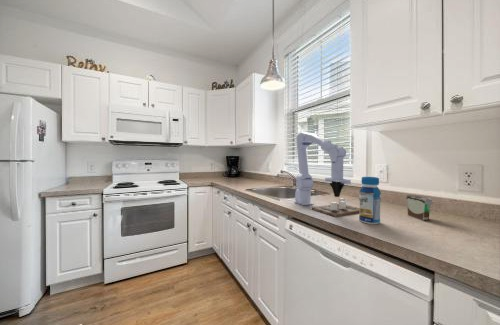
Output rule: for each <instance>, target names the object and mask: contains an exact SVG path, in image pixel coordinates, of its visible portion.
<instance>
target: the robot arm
mask: <svg viewBox="0 0 500 325" xmlns="http://www.w3.org/2000/svg"><path fill="white" fill-rule="evenodd" d="M295 138H296V150H297V159H298V171H299V174H298V175H297V176H296V181H295V185H296V186H295V187H296V188H297V189H295V192H294V200H295V201H293V202H294V203H295V204H298V205H302V206H309V205H314V203H313V202H311V200H312V199H311V191H312V189H313V187H314V179H313V176H312V175H311V174H310V173H309V166H308V156H307V154H308V153H307V148H308V147H310V146H311V145H312V144H313V143H314V144H316V145H318V146H320V149H321V150H322V151H323V152H325V153H327V154H328V156H329V158H330V161H331V162H330V164H331V165H330V173H331V174H330V177H325V178H324V181H325V182H328V183H329V182H330V183H329V185H330V187H331V189H332V192H333V195H334V197H335V198H340V197H341V192H342V189H343V188H344V186H345V185H351V179H345V178H344V158H345V157H346V154H347V150H346V149H345V148H344V147H343V146H338V144H335V143H332V141H331V140H329V139H328V140H323V139H322V138H320V137H319V136H318V135H317V134H316V133H314V132H303V131H300V132H299V133H297V136H296V137H295Z"/></svg>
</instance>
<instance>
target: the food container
mask: <svg viewBox="0 0 500 325" xmlns="http://www.w3.org/2000/svg"><path fill="white" fill-rule="evenodd" d="M405 199H406V210H407V216H408V217H411V218H414V219H416V220H419V221H422V222H427V221H429V220H430V219H429V218H430V213H431V205H433V204H434V203H433V199H432V198H431V197H427V196H422V195H414V194H413V195H411V194H406V196H405Z"/></svg>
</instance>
